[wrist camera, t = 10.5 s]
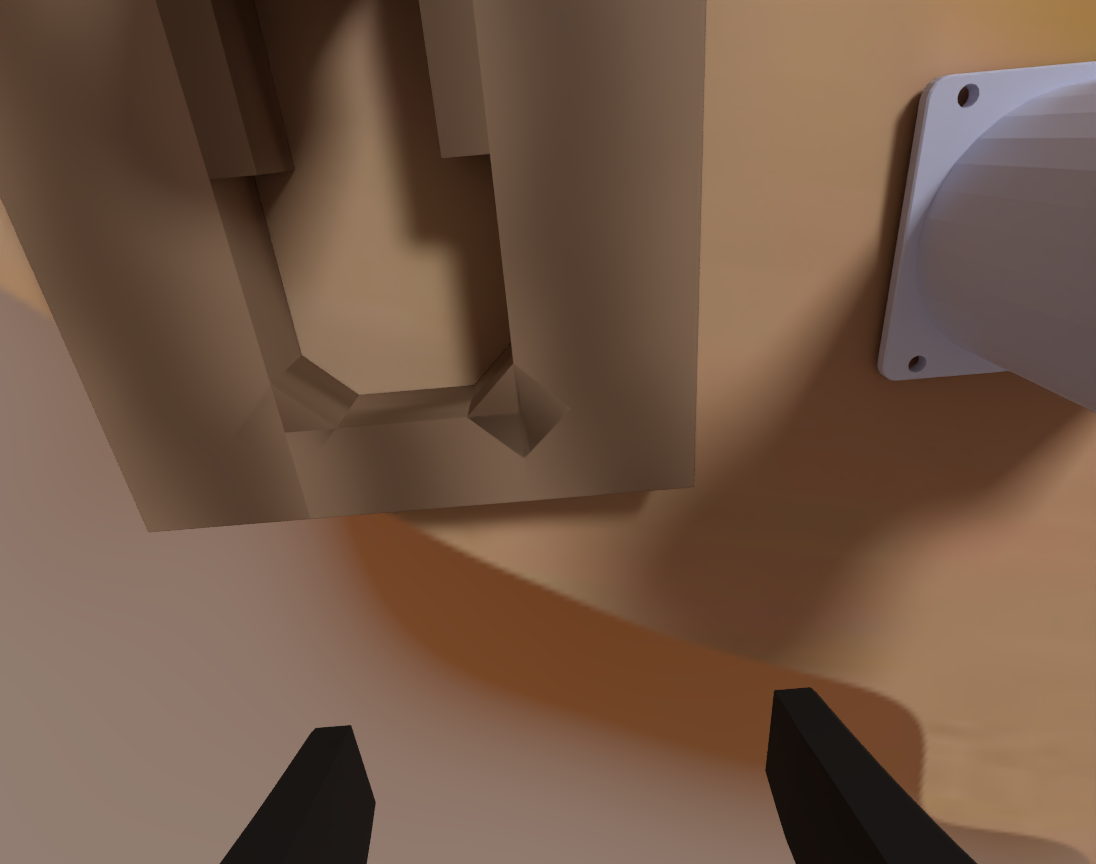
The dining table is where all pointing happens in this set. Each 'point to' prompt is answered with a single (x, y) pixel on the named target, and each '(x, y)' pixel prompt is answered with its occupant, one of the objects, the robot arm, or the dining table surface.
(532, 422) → the keyhole board
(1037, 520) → the dining table surface
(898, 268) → the robot arm
